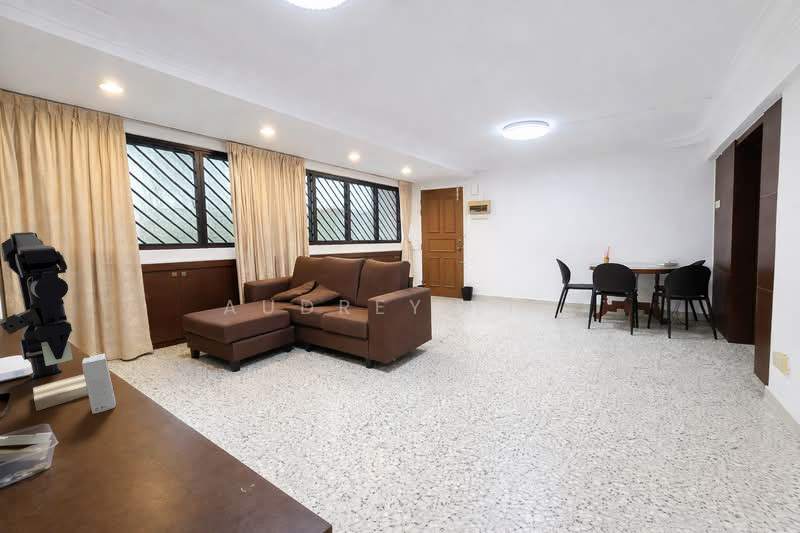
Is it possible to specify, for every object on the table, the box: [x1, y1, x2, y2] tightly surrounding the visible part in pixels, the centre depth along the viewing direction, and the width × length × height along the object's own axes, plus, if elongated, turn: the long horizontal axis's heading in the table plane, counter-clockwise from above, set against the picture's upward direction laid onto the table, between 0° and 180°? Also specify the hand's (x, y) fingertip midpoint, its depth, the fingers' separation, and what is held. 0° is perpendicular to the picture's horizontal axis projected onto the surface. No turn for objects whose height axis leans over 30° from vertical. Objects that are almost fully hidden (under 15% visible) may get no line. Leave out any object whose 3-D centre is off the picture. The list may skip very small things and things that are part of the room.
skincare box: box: [81, 352, 117, 414], centre depth 84 cm, size 6×4×12 cm
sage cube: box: [41, 338, 74, 366], centre depth 92 cm, size 5×5×5 cm
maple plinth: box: [32, 373, 88, 411], centre depth 93 cm, size 12×11×2 cm
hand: (58, 356), depth 92 cm, fingers closed on sage cube, 5 cm apart
